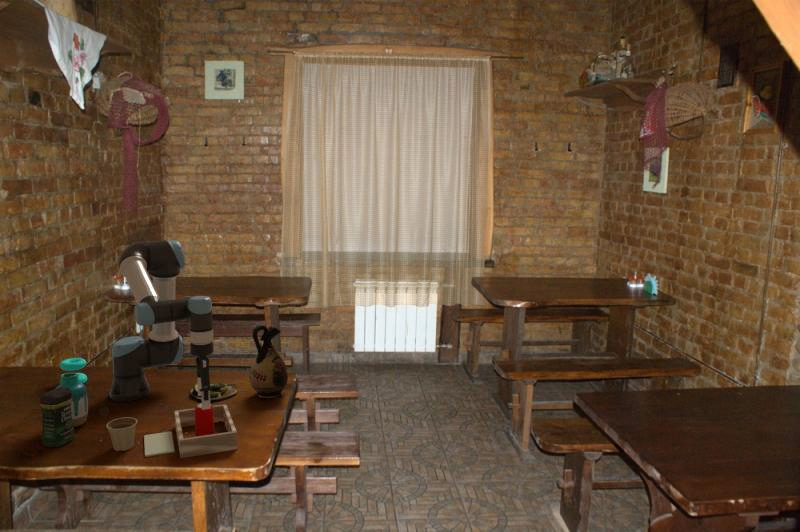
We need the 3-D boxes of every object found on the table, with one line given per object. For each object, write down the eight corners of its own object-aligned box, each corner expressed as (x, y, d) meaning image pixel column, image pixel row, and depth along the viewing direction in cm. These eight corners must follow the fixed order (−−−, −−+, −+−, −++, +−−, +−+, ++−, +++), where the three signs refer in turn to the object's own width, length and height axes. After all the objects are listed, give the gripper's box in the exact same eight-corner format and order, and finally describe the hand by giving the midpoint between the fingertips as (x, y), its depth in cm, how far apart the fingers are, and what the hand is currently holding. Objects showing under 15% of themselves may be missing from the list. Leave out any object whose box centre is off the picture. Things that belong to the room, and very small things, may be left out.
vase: (55, 434, 215) (51, 381, 212) (56, 422, 224) (52, 372, 221) (89, 428, 220) (85, 377, 217) (88, 417, 229) (85, 368, 226)
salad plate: (226, 382, 269) (226, 372, 268) (247, 394, 256) (247, 383, 256) (184, 393, 256) (183, 382, 255) (204, 406, 243) (203, 394, 242)
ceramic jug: (274, 385, 266) (273, 317, 261) (295, 395, 255) (294, 324, 250) (239, 395, 254) (237, 324, 249) (259, 405, 243) (258, 332, 238)
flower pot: (127, 455, 201) (125, 430, 199) (101, 452, 203) (100, 427, 201) (144, 442, 210) (143, 418, 208) (119, 439, 212) (118, 416, 210)
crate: (175, 426, 223) (174, 410, 222) (226, 419, 230) (226, 404, 229) (180, 458, 199) (179, 440, 198) (237, 449, 206) (236, 432, 205)
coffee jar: (58, 449, 204) (54, 396, 201) (38, 446, 206) (33, 393, 203) (79, 437, 213) (76, 386, 210) (60, 434, 215) (56, 383, 212)
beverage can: (214, 440, 213) (213, 407, 211) (195, 442, 211) (194, 409, 209) (214, 432, 218) (213, 400, 216) (196, 434, 217) (194, 402, 215)
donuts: (89, 361, 263) (63, 365, 256) (90, 383, 264) (65, 388, 258) (82, 355, 270) (56, 360, 263) (83, 377, 272) (58, 382, 265)
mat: (144, 436, 214) (144, 435, 214) (171, 432, 218) (171, 431, 218) (145, 457, 200) (144, 455, 200) (174, 452, 203) (174, 450, 203)
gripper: (187, 334, 219) (189, 391, 222) (193, 353, 196) (196, 416, 199) (209, 332, 222) (211, 388, 225) (217, 350, 199) (220, 413, 202)
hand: (204, 401), depth 212 cm, fingers open, 13 cm apart
